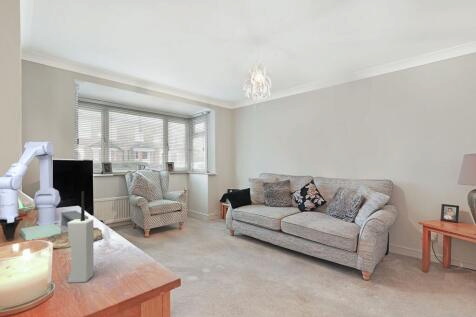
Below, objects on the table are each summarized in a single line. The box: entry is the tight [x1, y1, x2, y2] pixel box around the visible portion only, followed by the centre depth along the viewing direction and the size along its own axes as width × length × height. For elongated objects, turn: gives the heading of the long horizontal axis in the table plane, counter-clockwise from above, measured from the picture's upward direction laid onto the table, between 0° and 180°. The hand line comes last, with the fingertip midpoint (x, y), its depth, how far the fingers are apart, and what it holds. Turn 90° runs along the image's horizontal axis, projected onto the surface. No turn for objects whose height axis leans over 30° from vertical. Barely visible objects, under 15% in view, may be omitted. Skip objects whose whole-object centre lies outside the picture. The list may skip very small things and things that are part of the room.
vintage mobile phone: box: [67, 191, 95, 284], centre depth 66 cm, size 4×5×25 cm
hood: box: [60, 210, 89, 226], centre depth 116 cm, size 21×6×6 cm, turn 49°
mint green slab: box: [19, 223, 62, 241], centre depth 106 cm, size 14×12×3 cm
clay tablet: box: [44, 227, 103, 250], centre depth 96 cm, size 14×5×20 cm
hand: (8, 236), depth 98 cm, fingers open, 7 cm apart
